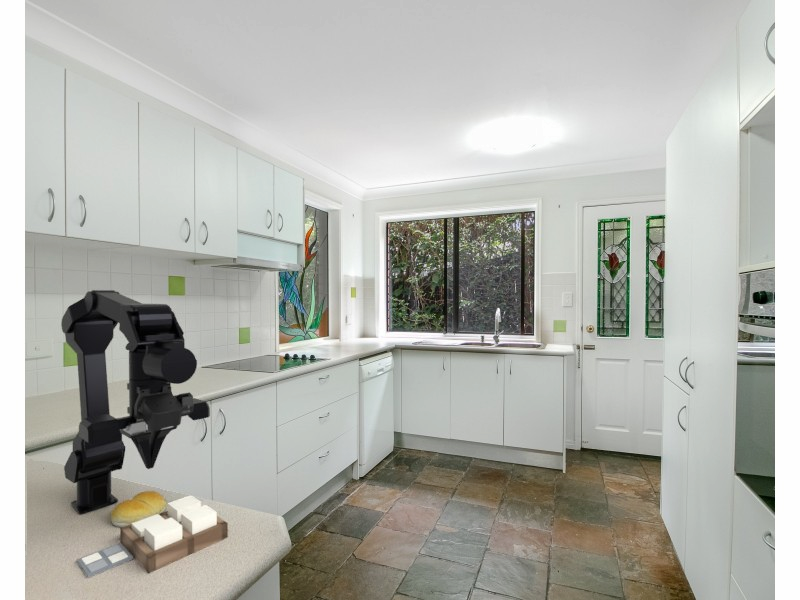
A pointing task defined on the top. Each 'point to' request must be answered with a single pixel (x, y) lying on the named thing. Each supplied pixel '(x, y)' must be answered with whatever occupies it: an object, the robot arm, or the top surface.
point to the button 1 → (145, 524)
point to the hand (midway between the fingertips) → (149, 468)
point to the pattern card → (104, 559)
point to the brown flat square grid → (172, 551)
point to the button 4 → (198, 519)
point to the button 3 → (182, 507)
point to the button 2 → (162, 533)
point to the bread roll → (138, 508)
